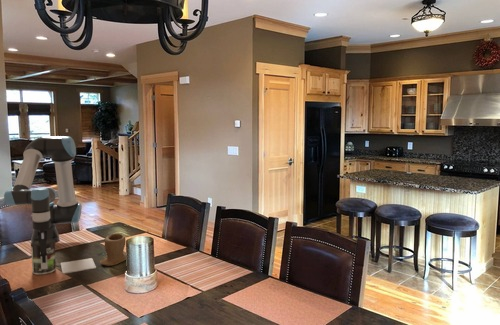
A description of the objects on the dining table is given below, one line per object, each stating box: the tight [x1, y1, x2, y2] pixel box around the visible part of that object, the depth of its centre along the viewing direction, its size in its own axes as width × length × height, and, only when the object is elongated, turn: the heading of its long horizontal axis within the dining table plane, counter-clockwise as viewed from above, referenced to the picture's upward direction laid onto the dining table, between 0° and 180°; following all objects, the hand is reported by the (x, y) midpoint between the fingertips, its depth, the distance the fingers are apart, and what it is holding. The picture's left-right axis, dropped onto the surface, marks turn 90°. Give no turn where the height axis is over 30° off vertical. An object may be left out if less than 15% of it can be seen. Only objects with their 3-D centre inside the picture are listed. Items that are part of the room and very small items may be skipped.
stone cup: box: [99, 232, 127, 267], centre depth 202 cm, size 15×12×15 cm
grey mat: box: [60, 257, 97, 275], centre depth 197 cm, size 15×15×1 cm
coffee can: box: [30, 240, 57, 276], centre depth 190 cm, size 10×10×14 cm
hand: (44, 265), depth 191 cm, fingers closed on coffee can, 10 cm apart
